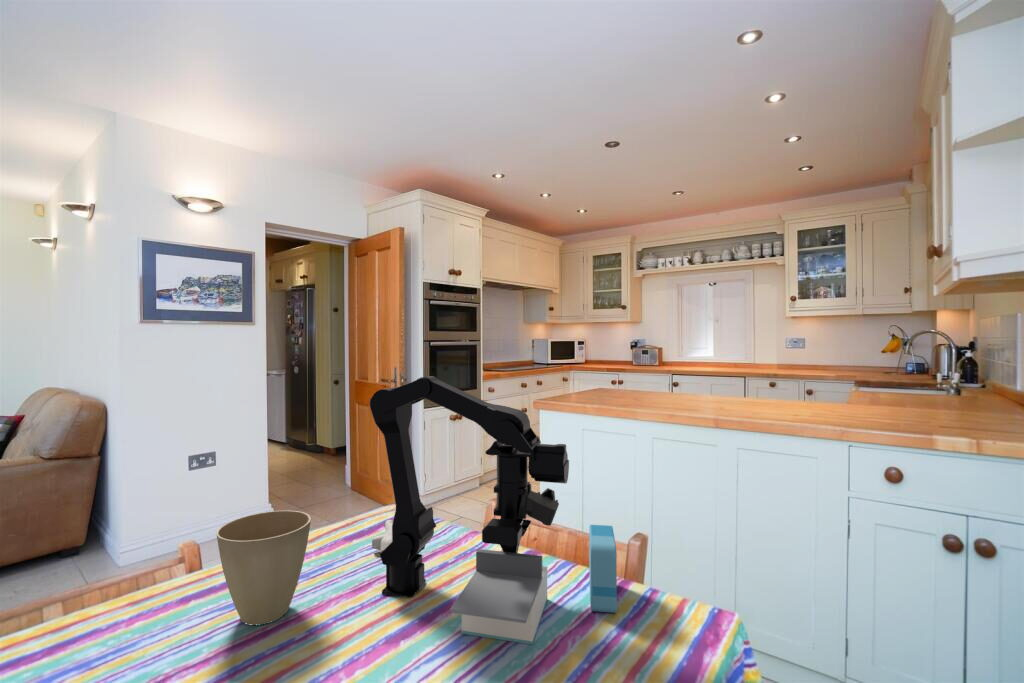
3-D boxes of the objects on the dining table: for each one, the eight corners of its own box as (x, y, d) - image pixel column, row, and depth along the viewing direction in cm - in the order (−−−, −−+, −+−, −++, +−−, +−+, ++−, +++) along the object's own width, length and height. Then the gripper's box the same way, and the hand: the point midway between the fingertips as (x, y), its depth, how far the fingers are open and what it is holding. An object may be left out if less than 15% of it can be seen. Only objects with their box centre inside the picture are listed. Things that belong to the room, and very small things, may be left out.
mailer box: (461, 633, 78) (461, 597, 78) (486, 590, 92) (486, 559, 92) (532, 644, 75) (532, 606, 75) (547, 598, 89) (547, 566, 89)
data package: (616, 616, 83) (616, 548, 83) (590, 614, 84) (590, 547, 84) (612, 582, 95) (611, 523, 95) (589, 581, 96) (589, 522, 96)
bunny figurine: (367, 544, 104) (381, 512, 119) (367, 566, 105) (382, 531, 120) (410, 543, 105) (419, 511, 120) (410, 564, 105) (419, 530, 120)
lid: (450, 612, 73) (450, 586, 73) (478, 570, 87) (478, 548, 87) (525, 623, 70) (525, 596, 70) (542, 578, 84) (542, 555, 84)
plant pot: (328, 602, 88) (328, 516, 88) (255, 649, 74) (255, 547, 74) (273, 585, 94) (273, 505, 94) (196, 625, 80) (196, 532, 81)
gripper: (546, 498, 76) (546, 595, 76) (562, 468, 94) (562, 546, 94) (481, 493, 79) (481, 586, 79) (508, 465, 97) (508, 541, 97)
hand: (512, 563), depth 87 cm, fingers closed
